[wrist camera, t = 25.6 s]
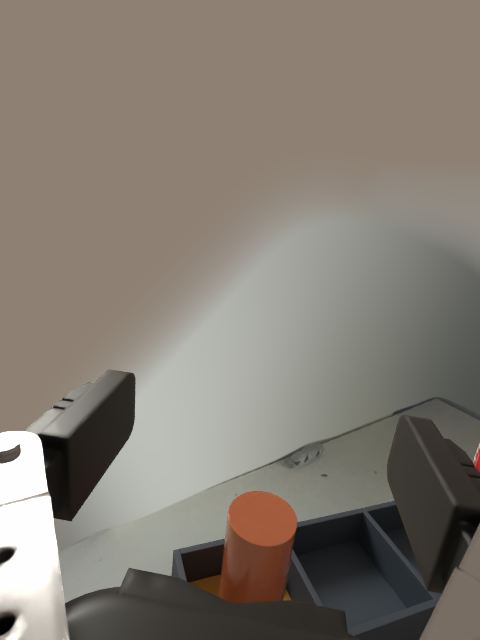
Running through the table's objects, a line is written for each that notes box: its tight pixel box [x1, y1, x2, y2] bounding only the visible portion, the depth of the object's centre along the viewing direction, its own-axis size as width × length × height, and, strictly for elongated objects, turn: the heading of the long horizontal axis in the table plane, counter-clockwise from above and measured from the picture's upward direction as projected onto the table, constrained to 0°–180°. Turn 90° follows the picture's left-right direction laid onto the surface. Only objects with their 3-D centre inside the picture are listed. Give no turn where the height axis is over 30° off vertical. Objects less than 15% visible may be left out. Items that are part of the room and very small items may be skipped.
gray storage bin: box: [172, 501, 442, 640], centre depth 37 cm, size 32×11×4 cm, turn 110°
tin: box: [218, 491, 297, 603], centre depth 32 cm, size 6×6×12 cm
